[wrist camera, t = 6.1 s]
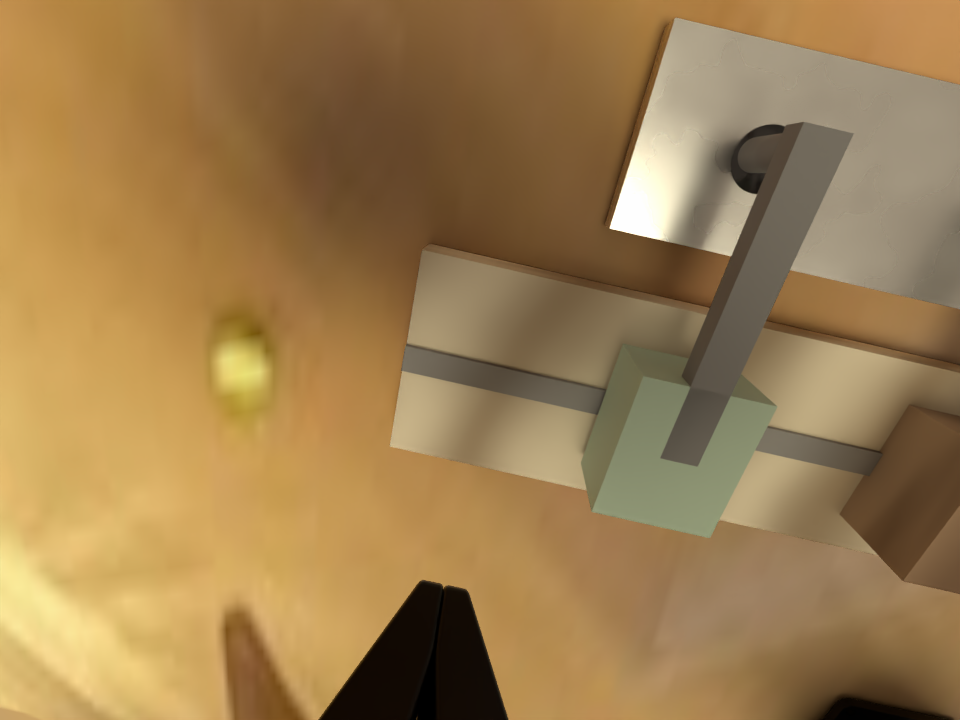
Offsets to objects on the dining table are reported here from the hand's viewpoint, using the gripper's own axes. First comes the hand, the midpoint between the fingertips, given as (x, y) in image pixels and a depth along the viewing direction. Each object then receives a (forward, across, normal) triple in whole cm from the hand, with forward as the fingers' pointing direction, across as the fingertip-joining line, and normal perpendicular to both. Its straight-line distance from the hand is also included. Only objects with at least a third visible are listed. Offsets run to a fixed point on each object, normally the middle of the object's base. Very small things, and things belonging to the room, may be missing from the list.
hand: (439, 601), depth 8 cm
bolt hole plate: (+12, -12, -9) cm, 19 cm away
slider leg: (+10, -7, -3) cm, 12 cm away
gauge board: (+12, -9, -3) cm, 15 cm away
